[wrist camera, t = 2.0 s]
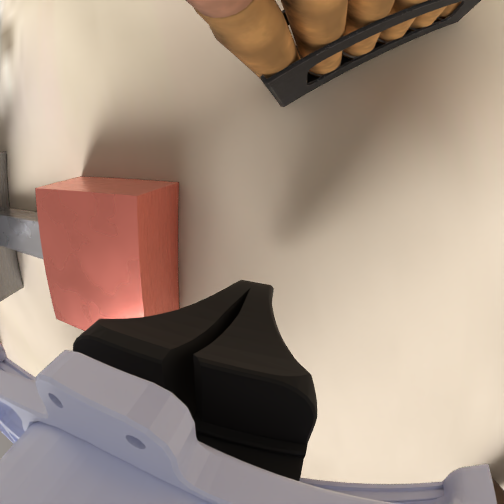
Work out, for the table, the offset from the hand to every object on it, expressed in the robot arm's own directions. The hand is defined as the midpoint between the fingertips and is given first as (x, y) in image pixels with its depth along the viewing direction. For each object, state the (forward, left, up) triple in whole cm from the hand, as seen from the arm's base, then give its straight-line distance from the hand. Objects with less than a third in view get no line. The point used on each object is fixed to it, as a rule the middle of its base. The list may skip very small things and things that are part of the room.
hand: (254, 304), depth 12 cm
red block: (0, +9, -3) cm, 9 cm away
